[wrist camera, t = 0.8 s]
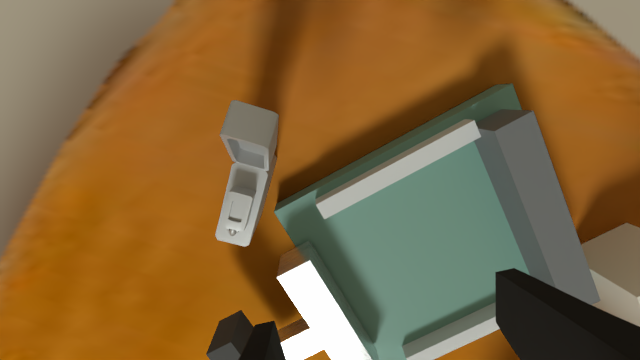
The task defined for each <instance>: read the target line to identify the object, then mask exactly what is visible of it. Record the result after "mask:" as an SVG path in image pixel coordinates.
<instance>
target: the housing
mask: <svg viewBox="0 0 640 360" xmlns="http://www.w3.org/2000/svg"><path fill="white" fill-rule="evenodd" d="M581 246H582V249H583V252H584V255H585V258H586V261H587V263H588V266H589V269H590V272H591V275H592V277H593V280H594V283H595V286H596V289H597V292H598V294H599V297H600V300H601V301H599V302H597V303H594V304H592V306H595V307H597V308H599V309H601V310H603V311H605V312H608V313H610V314H612V315H614V316H616V317H619V318H621V319H623V320H625V321H628V322H630V323H632V324H635V325H637V326H639V327H640V228H639V227H636V226H634V225H631V224H629V223H625V224H623V225H621V226H619V227H616V228H614V229H612V230H610V231H608V232H606V233H604V234H602V235H600V236H598V237H596V238H593V239H591V240H589V241H587V242H585V243H583V244H581Z"/></svg>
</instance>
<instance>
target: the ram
mask: <svg viewBox="0 0 640 360" xmlns="http://www.w3.org/2000/svg"><path fill="white" fill-rule="evenodd" d="M277 279H278V280H279V282H280V283H281V285H282V286H283V288H284V289H285V291H286V292H287V294H288V295H289V297H290V298H291V300H292V301H293V303H294V304H295V306H296V307H297V309H298V310H299V312H300V313H301V315H302V316H303V318H301V319H299V320H297V321H295V322H293V323H291V324H289V325H287V326H285V327H283V328H281V329H279V330H277V331H278V334H279V337H280V341H281V344H282V347H283V350H284V353H285V357H286V360H302V359H305V358H307V357H309V356H311V355H313V354H315V353H317V352H319V351H321V350H323V349H325V350H326V352H327V353H328V355H329V356H330V358H331V359H332V360H379V357H378V353H377V350H376V347H375V346H374V344H373V342H372V341H371V339H370V337H369V336H368V334H367V333H366V331H365V329H364V328H363V326H362V324H361V323H360V321H359V319H358V318H357V316H356V315H355V313H354V311H353V310H352V308H351V306H350V305H349V303H348V302H347V300H346V298H345V297H344V295H343V293H342V292H341V290H340V289H339V287H338V285H337V284H336V282H335V280H334V279H333V277H332V276H331V274H330V272H329V271H328V269H327V267H326V266H325V264H324V262H323V261H322V259H321V258H320V256H319V254H318V253H317V251H316V249H315V248H314V246H313V245H312V243H311V241H310V240H309V241H307V242H305V243H303V244H301V245H299V246H297V247H296V248H294V249H292V250H290V251H288V252H286V253H284V254H282V255H281V256H280V262H279V267H278V273H277ZM253 328H254V327H253V326H252V324H251V323H250V322H249V320H248V319H247V318H246V316H245V315H244V313H243V312H242V311H241V310H240V311H238V312H236V313H235V314H233V315H231V316H229V317H227V318H225V319H223V320H221V321H220V322H219V324H218V326H217V329H216V331H215V334H214V336H213V339H212V341H211V344H210V346H209V349H208V351H207V354H206V355H207V356H208V357H209V359H210V360H238V359H239V357H240V355H241V353H242V351H243V349H244V347H245V345H246V342H247V340H248V338H249V336H250V334H251V332H252V329H253Z"/></svg>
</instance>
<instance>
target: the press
mask: <svg viewBox="0 0 640 360" xmlns="http://www.w3.org/2000/svg"><path fill="white" fill-rule="evenodd" d="M274 213H275V214H276V216H277V218H278V219H279V221H280V222H281V224H282V225H283V227H284V229H285V230H286V232H287V233H288V235H289V237H290V238H291V240H292V241H293V243H294V244H295V246H296V247H297V246H299V245H301V244H303V243H305V242H307V241H309V240H310V241H311V243H312V245H313V246H314V248H315V249H316V251H317V253H318V254H319V256H320V258H321V259H322V261H323V262H324V264H325V266H326V267H327V269H328V271H329V272H330V274H331V276H332V277H333V279H334V280H335V282H336V284H337V285H338V287H339V289H340V290H341V292H342V293H343V295H344V297H345V298H346V300H347V302H348V303H349V305H350V306H351V308H352V310H353V311H354V313H355V315H356V316H357V318H358V319H359V321H360V323H361V324H362V326H363V328H364V329H365V331H366V333H367V334H368V336H369V337H370V339H371V341H372V342H373V344H374V346H375V347H376V350H377V353H378V357H379V360H434V359H436V358H438V357H440V356H442V355H444V354H447V353H449V352H451V351H453V350H455V349H457V348H459V347H462V346H464V345H466V344H468V343H470V342H472V341H475V340H477V339H479V338H481V337H483V336H485V335H488V334H490V333H492V332H494V331H496V330H498V329H500V328H499V326H498V325H497V323H496V286H495V272H499V271H503V270H508V269H512V268H515V269H517V270H519V271H522V272H524V273H526V274H528V275H530V276H532V277H534V278H536V279H539V280H541V281H543V282H545V283H547V284H549V285H551V286H553V287H555V288H557V289H559V290H561V291H563V292H565V293H567V294H569V295H571V296H573V297H576V298H578V299H580V300H582V301H584V302H586V303H588V304H590V305H592V304H594V303H597V302H599V301H601V300H600V297H599V294H598V292H597V289H596V286H595V283H594V280H593V277H592V275H591V272H590V269H589V266H588V263H587V261H586V258H585V255H584V252H583V249H582V246H581V244H580V241H579V238H578V235H577V232H576V230H575V227H574V224H573V221H572V218H571V215H570V213H569V210H568V207H567V204H566V201H565V199H564V196H563V193H562V190H561V187H560V184H559V182H558V179H557V176H556V173H555V170H554V168H553V165H552V162H551V159H550V156H549V153H548V151H547V148H546V145H545V142H544V139H543V137H542V134H541V131H540V128H539V125H538V122H537V120H536V117H535V114H534V111H529V110H522V108H521V106H520V103H519V100H518V97H517V95H516V92H515V89H514V86H513V84H499V85H495V86H493V87H491V88H489V89H487V90H486V91H484V92H482V93H480V94H478V95H476V96H474V97H473V98H471V99H469V100H467V101H465V102H463V103H462V104H460V105H458V106H456V107H454V108H452V109H450V110H449V111H447V112H445V113H443V114H441V115H439V116H438V117H436V118H434V119H432V120H430V121H428V122H426V123H425V124H423V125H421V126H419V127H417V128H415V129H414V130H412V131H410V132H408V133H406V134H404V135H402V136H401V137H399V138H397V139H395V140H393V141H391V142H390V143H388V144H386V145H384V146H382V147H380V148H378V149H377V150H375V151H373V152H371V153H369V154H367V155H366V156H364V157H362V158H360V159H358V160H356V161H354V162H353V163H351V164H349V165H347V166H345V167H343V168H342V169H340V170H338V171H336V172H334V173H332V174H330V175H329V176H327V177H325V178H323V179H321V180H319V181H318V182H316V183H314V184H312V185H310V186H308V187H306V188H305V189H303V190H301V191H299V192H297V193H295V194H294V195H292V196H290V197H288V198H286V199H284V200H282V201H281V202H279V203H277V204H276V207H275V210H274Z"/></svg>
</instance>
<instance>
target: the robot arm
mask: <svg viewBox="0 0 640 360" xmlns="http://www.w3.org/2000/svg"><path fill="white" fill-rule="evenodd" d="M495 286H496V323H497V325H498V326H499V328H500V330H501V331H502V333H503V334H504V336H505V338H506V339H507V341H508V342H509V344H510V345H511V347H512V348H513V350H514V351H515V353H516V354H517V355H518V357H519V358H520V359H521V360H640V327H639V326H637V325H635V324H632V323H630V322H628V321H625V320H623V319H621V318H619V317H616V316H614V315H612V314H610V313H608V312H605V311H603V310H601V309H599V308H597V307H595V306H592V305H590V304H588V303H586V302H584V301H582V300H580V299H578V298H576V297H573V296H571V295H569V294H567V293H565V292H563V291H561V290H559V289H557V288H555V287H553V286H551V285H549V284H547V283H545V282H543V281H541V280H539V279H536V278H534V277H532V276H530V275H528V274H526V273H524V272H522V271H519V270H517V269H515V268H512V269H508V270H503V271H499V272H495ZM238 360H286V357H285V353H284V350H283V347H282V344H281V341H280V337H279V334H278V331H277V328H276V325H275V322H274V321H271V322H267V323H262V324H257V325H255V326H254V328H253V329H252V332H251V334H250V336H249V338H248V340H247V342H246V345H245V347H244V349H243V351H242V353H241V355H240V357H239V359H238Z"/></svg>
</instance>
